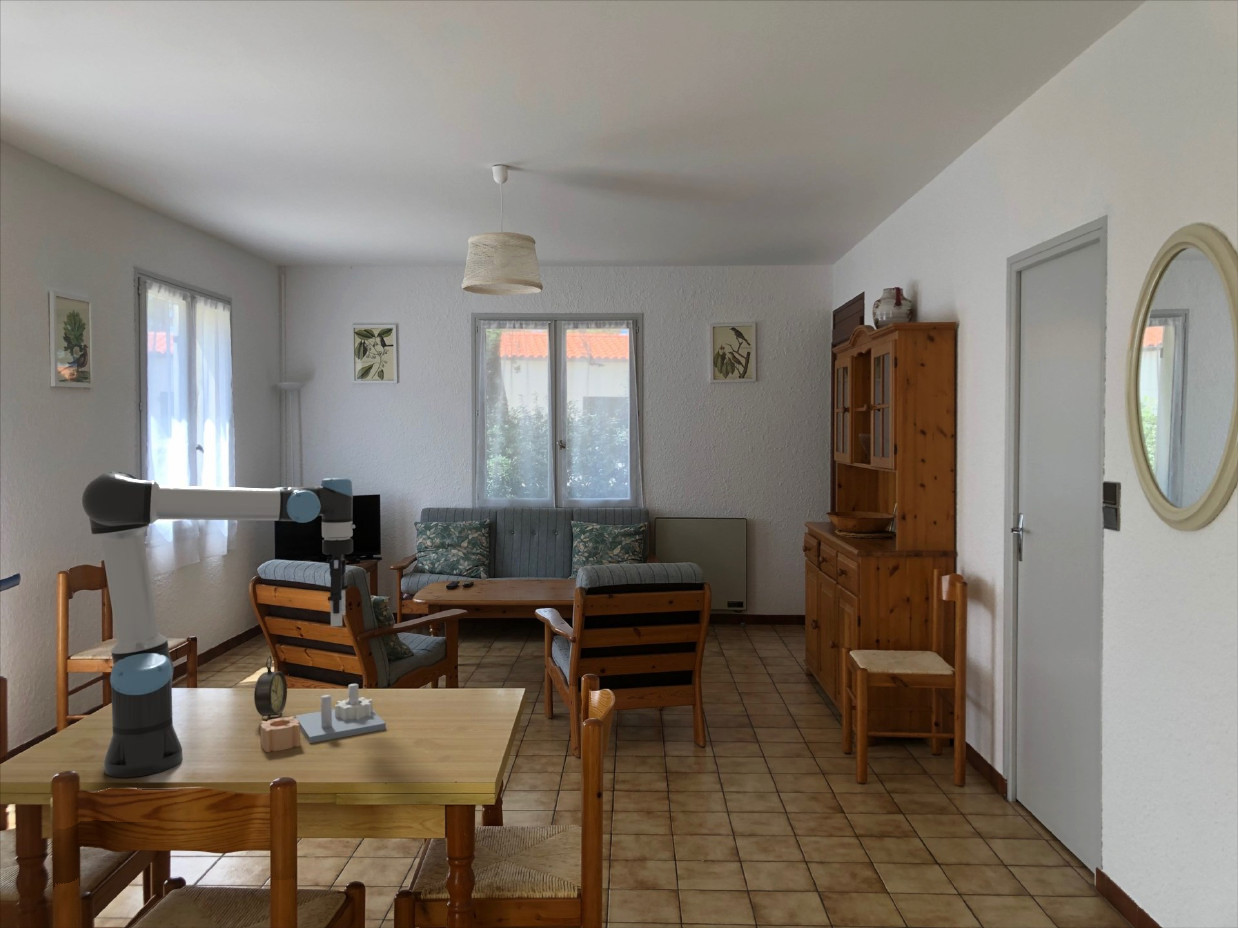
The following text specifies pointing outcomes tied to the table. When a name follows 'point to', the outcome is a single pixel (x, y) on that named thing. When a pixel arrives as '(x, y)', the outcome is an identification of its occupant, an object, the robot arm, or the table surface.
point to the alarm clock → (270, 692)
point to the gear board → (341, 718)
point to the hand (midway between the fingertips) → (338, 620)
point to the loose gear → (280, 734)
